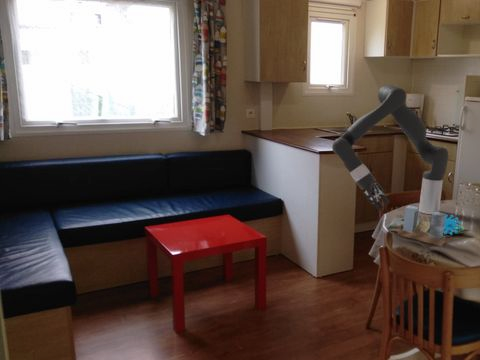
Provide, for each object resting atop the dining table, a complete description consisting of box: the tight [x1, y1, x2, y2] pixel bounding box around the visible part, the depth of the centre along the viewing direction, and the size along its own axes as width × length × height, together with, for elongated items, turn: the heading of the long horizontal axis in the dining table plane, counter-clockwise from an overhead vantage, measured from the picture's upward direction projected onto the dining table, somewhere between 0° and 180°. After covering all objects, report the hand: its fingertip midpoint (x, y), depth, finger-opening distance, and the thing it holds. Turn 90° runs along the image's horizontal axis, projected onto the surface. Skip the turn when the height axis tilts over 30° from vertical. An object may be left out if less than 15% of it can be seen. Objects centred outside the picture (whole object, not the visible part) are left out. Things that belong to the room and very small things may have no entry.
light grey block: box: [402, 205, 419, 232], centre depth 186 cm, size 4×4×10 cm
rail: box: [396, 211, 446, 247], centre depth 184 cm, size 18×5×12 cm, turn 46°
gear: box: [443, 213, 465, 236], centre depth 193 cm, size 11×6×10 cm
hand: (384, 206), depth 193 cm, fingers open, 8 cm apart
